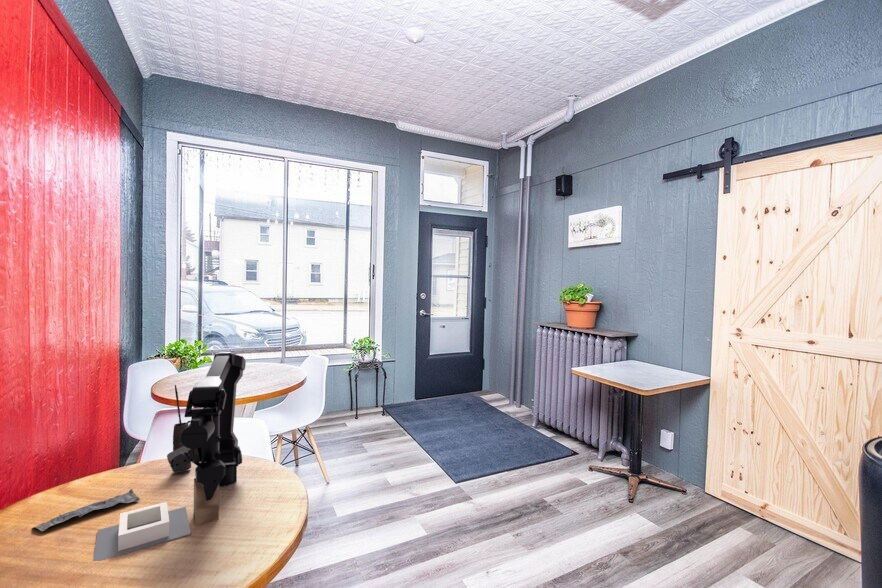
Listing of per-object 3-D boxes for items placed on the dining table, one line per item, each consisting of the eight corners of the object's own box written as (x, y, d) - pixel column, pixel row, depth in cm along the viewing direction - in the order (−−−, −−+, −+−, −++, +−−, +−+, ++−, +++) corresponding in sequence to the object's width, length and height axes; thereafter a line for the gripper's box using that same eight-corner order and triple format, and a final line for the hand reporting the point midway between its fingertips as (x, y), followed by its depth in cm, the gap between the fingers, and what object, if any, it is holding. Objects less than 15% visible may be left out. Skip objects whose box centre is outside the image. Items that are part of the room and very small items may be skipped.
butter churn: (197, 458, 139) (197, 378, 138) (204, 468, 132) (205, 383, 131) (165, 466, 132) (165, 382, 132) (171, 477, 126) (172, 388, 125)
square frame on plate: (185, 510, 108) (185, 493, 108) (190, 537, 97) (190, 519, 97) (97, 533, 97) (98, 515, 97) (92, 567, 86) (92, 547, 86)
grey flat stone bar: (36, 536, 95) (36, 527, 95) (30, 527, 99) (30, 518, 99) (140, 501, 112) (140, 493, 112) (131, 494, 116) (131, 486, 116)
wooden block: (215, 509, 109) (215, 473, 109) (218, 520, 104) (219, 482, 104) (193, 515, 106) (194, 478, 106) (196, 527, 101) (196, 488, 101)
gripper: (167, 428, 107) (167, 485, 107) (172, 453, 92) (171, 519, 93) (215, 420, 114) (214, 474, 114) (226, 442, 99) (225, 504, 99)
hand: (206, 491), depth 105 cm, fingers open, 9 cm apart
